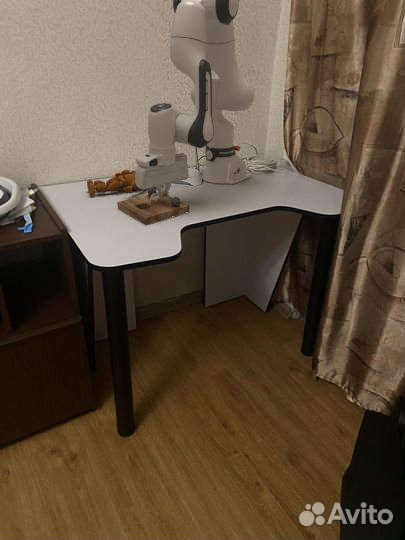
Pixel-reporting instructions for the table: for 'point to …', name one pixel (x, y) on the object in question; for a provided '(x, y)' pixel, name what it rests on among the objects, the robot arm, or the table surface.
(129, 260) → the table surface
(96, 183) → the toy
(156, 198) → the steel ball
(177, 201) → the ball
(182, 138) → the robot arm
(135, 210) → the wooden board with hole
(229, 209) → the table surface
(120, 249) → the table surface
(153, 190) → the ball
